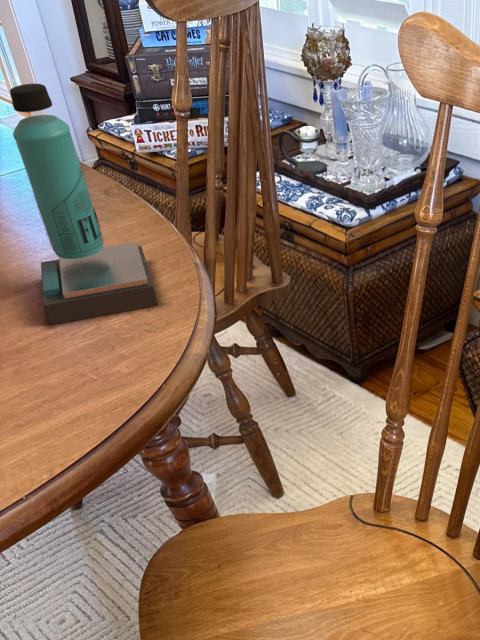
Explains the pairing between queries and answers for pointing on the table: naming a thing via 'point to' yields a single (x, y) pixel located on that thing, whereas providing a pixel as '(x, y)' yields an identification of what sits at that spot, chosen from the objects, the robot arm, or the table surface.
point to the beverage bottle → (55, 176)
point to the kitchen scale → (97, 284)
